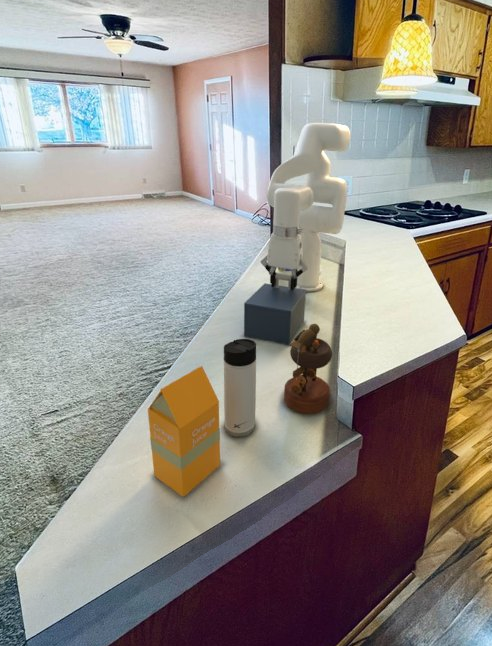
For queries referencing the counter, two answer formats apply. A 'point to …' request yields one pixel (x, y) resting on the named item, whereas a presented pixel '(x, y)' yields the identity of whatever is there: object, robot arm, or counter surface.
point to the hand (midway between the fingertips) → (283, 286)
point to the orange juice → (185, 432)
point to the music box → (308, 373)
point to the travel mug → (239, 387)
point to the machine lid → (276, 296)
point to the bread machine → (273, 323)
